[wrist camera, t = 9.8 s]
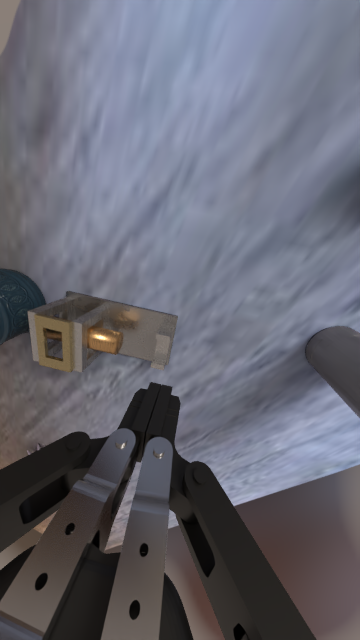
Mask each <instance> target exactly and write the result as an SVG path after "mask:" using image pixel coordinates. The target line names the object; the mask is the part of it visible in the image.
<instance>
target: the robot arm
mask: <svg viewBox="0 0 360 640" xmlns="http://www.w3.org/2000/svg"><path fill="white" fill-rule="evenodd" d="M306 358H307V360H308V362H309V363H310V364H311V365H312V366H313V367H314V369H315V370H316V371H317V372H318V373H319V374H320V375H321V376H322V378H323V379H324V380H325V381H326V382H327V383H328V384H329V385H330V386H331V387H332V388H333V390H334V391H335V392H336V393H337V394H338V395H339V396H340V397H341V398H342V399H343V400H344V402H345V403H346V404H347V405H348V406H349V407H350V408H351V409H352V410H353V411H354V413H355V414H356V415H357V416H358V417H359V418H360V333H359V332H357V331H355V330H353V329H351V328H348V327H344V326H336V327H330V328H327V329H324V330H322V331H320V332H319V333H317V334H316V335H315V336H314V337H313V338H312V339H311V340H310V341H309V343H308V345H307V347H306ZM171 392H172V387H171V386H166V385H162V386H161V384H157V383H153V382H151V383H150V385H149V387H148V389H142V388H141V389H140V390H138V391H137V392H136V393H135V395H134V397H133V399H132V401H131V403H130V405H129V407H128V409H127V411H126V413H125V415H124V417H123V419H122V421H121V423H120V425H119V427H118V429H117V430H116V431H114V432H113V433H112V434H111V435H110V436H108V437H104V438H97V439H90V438H89V436H88V434H86V433H85V432H73V433H71V434H69V435H67V436H65V437H63V438H61V439H59V440H57V441H55V442H53V443H51V444H49V445H47V446H45V447H43V448H41V449H40V450H38V451H36V452H34V453H32V454H30V455H28V456H26V457H24V458H22V459H20V460H18V461H16V462H14V463H12V464H10V465H9V466H7V467H5V468H3V469H1V470H0V552H1V551H3V550H4V549H5V548H7V547H8V546H10V545H11V544H12V543H14V542H15V541H16V540H18V539H19V538H20V537H22V536H23V535H24V534H26V533H27V532H29V531H30V530H31V529H33V528H34V527H35V526H37V525H38V524H39V523H41V522H42V521H43V520H45V519H46V518H47V517H49V516H50V515H51V514H53V513H54V512H56V511H57V510H58V511H57V512H56V514H55V516H54V517H53V519H52V520H51V522H50V523H49V525H48V527H47V528H46V530H45V531H44V533H43V535H42V536H41V538H40V540H39V541H38V543H37V544H36V545H34V546H33V547H30V548H29V549H27V550H26V551H24V552H23V553H21V554H20V555H18V556H17V557H16V558H15V559H13V560H12V561H11V562H10V563H8V564H7V565H6V566H5V567H4V568H2V570H0V640H193V636H192V633H191V630H190V626H189V623H188V620H187V616H186V613H185V610H184V607H183V604H182V601H181V599H180V596H179V594H178V592H177V590H176V588H175V586H174V584H173V583H172V581H171V580H170V578H169V577H168V576H167V575H166V574H165V572H164V569H165V557H166V544H167V532H168V520H169V509H170V510H172V511H173V512H174V513H175V514H176V518H177V521H178V523H179V526H180V528H181V531H182V533H183V536H184V538H185V541H186V543H187V546H188V548H189V551H190V553H191V556H192V558H193V561H194V563H195V566H196V568H197V571H198V573H199V575H200V578H201V580H202V583H203V586H204V588H205V590H206V593H207V595H208V598H209V600H210V603H211V605H212V608H213V610H214V613H215V615H216V618H217V620H218V623H219V625H220V628H221V630H222V633H223V635H224V638H225V640H316V638H315V637H314V635H313V634H312V632H311V630H310V629H309V627H308V626H307V624H306V622H305V621H304V619H303V617H302V616H301V614H300V613H299V611H298V609H297V608H296V606H295V604H294V603H293V601H292V600H291V598H290V596H289V595H288V593H287V592H286V590H285V588H284V587H283V585H282V584H281V582H280V580H279V579H278V577H277V576H276V574H275V572H274V571H273V569H272V568H271V566H270V564H269V563H268V561H267V559H266V558H265V556H264V555H263V553H262V551H261V550H260V548H259V547H258V545H257V543H256V542H255V540H254V538H253V537H252V535H251V534H250V532H249V530H248V529H247V527H246V526H245V524H244V522H243V521H242V519H241V518H240V516H239V514H238V513H237V511H236V509H235V508H234V506H233V505H232V503H231V501H230V500H229V498H228V497H227V495H226V493H225V492H224V490H223V489H222V487H221V485H220V484H219V482H218V480H217V479H216V477H215V476H214V474H213V472H212V471H211V469H210V468H209V467H208V466H207V465H206V464H204V463H202V462H199V461H195V462H192V463H189V462H188V461H186V460H185V459H183V458H182V457H181V456H180V455H179V454H178V453H177V451H176V449H175V445H174V440H175V434H176V428H177V422H178V416H179V410H180V400H179V397H177V396H173V395H171ZM142 457H143V459H142ZM141 460H142V465H141V470H140V474H139V478H138V483H137V487H136V492H135V496H134V498H133V502H132V506H131V510H130V514H129V519H128V523H127V527H126V532H125V536H124V540H123V545H122V549H121V552H120V553H110V554H105V553H104V550H105V548H106V545H107V542H108V539H109V536H110V532H111V528H112V525H113V522H114V520H115V517H116V515H117V512H118V510H119V507H120V505H121V502H122V500H123V497H124V494H125V492H126V489H127V487H128V484H129V482H130V479H131V476H132V473H133V470H134V467H135V464H136V461H137V462H141Z"/></svg>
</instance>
